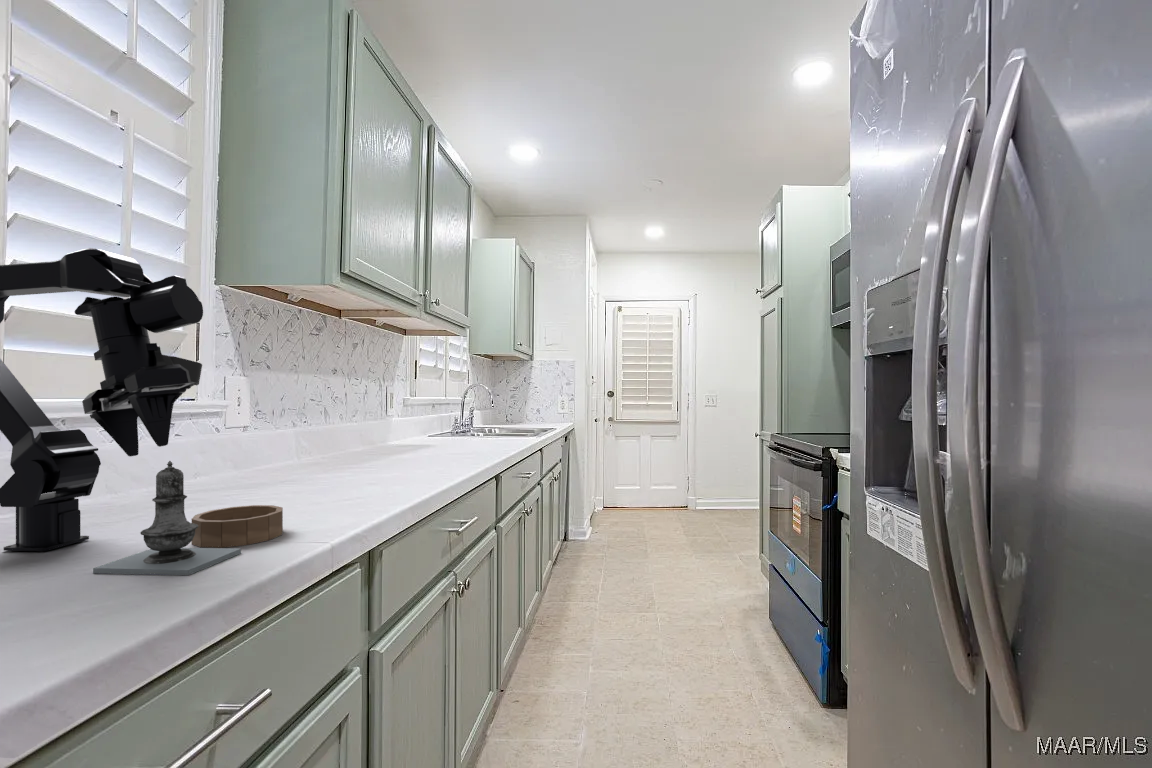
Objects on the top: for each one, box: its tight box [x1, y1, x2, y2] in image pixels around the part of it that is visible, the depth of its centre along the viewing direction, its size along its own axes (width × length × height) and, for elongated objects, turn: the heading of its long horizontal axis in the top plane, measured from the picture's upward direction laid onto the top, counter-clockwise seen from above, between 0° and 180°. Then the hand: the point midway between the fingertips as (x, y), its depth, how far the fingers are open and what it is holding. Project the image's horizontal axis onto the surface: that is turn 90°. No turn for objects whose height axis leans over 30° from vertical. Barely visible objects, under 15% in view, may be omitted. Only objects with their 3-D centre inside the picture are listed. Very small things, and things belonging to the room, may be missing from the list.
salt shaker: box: [139, 460, 198, 564], centre depth 72 cm, size 6×6×12 cm
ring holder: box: [191, 504, 284, 548], centre depth 84 cm, size 11×11×4 cm
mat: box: [92, 547, 242, 576], centre depth 71 cm, size 12×9×1 cm
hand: (147, 451), depth 79 cm, fingers open, 9 cm apart
